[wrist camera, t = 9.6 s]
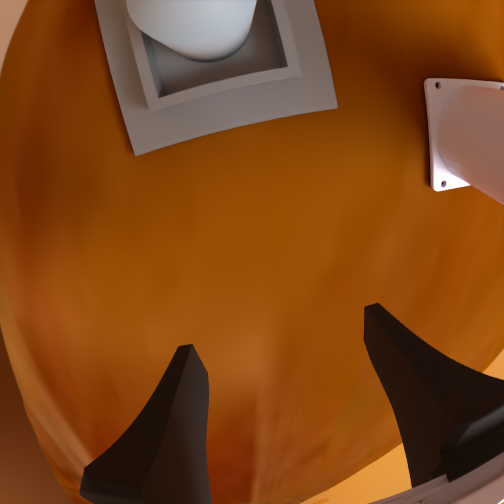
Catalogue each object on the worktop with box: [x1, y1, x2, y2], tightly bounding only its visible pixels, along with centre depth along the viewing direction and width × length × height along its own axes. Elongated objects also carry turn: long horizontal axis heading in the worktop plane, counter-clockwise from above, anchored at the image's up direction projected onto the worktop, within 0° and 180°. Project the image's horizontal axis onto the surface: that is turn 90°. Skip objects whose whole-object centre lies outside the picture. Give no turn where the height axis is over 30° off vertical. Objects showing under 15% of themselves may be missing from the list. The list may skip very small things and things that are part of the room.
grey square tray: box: [95, 0, 338, 156], centre depth 13 cm, size 12×12×3 cm
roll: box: [126, 0, 257, 63], centre depth 10 cm, size 4×4×7 cm
